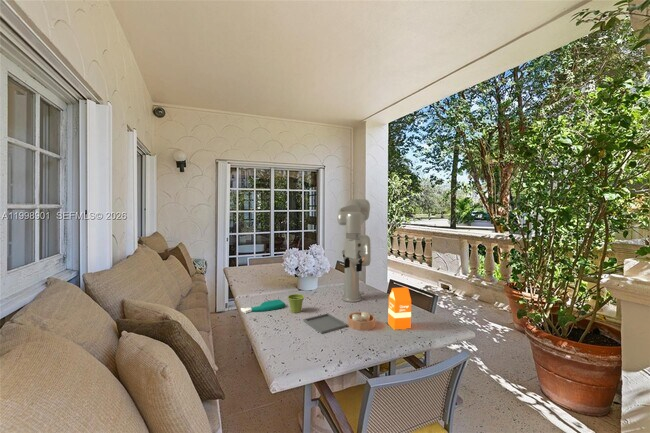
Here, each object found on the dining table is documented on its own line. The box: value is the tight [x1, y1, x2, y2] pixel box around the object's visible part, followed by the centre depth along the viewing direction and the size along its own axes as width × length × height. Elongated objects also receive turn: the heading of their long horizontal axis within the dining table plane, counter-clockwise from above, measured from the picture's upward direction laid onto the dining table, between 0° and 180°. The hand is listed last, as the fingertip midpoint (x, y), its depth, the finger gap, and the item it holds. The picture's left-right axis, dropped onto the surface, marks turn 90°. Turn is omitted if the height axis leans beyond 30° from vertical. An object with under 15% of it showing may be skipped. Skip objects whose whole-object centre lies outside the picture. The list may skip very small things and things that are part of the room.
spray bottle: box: [240, 299, 286, 314], centre depth 171 cm, size 3×11×24 cm
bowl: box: [347, 311, 376, 332], centre depth 149 cm, size 13×13×4 cm
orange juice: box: [387, 286, 412, 331], centre depth 148 cm, size 8×9×20 cm
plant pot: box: [287, 293, 305, 314], centre depth 167 cm, size 9×9×9 cm
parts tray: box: [302, 313, 348, 335], centre depth 149 cm, size 16×18×2 cm
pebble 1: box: [352, 314, 361, 322], centre depth 147 cm, size 4×4×5 cm
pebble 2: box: [361, 311, 371, 322], centre depth 150 cm, size 4×4×5 cm
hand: (352, 269), depth 150 cm, fingers open, 9 cm apart
